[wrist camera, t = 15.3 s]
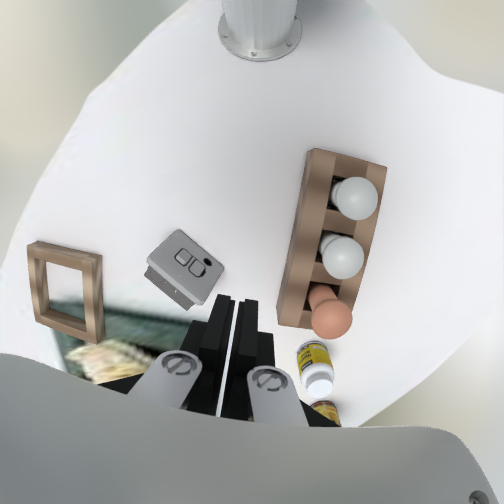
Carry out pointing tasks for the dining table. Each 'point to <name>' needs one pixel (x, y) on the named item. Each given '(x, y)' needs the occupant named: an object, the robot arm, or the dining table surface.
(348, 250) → the grey plug
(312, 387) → the supplement bottle
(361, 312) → the dining table surface
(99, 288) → the square wooden frame
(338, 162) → the block
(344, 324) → the terracotta plug
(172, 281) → the electrical switch
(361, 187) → the grey plug
